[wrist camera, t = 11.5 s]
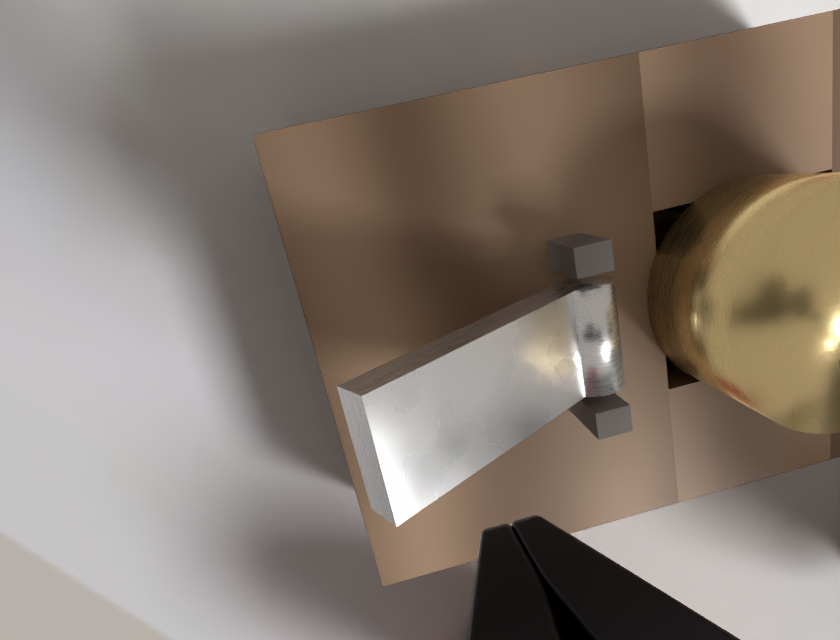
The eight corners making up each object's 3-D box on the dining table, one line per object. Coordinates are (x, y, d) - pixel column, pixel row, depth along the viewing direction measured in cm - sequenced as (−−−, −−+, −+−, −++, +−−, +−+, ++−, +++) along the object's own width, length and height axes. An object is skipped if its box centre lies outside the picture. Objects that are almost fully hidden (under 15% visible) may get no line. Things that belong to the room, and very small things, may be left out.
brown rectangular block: (764, 43, 19) (984, -32, 12) (773, 388, 23) (945, 470, 16) (278, 148, 18) (237, 126, 11) (375, 496, 21) (386, 633, 15)
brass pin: (565, 197, 19) (724, 205, 11) (723, 161, 20) (987, 143, 12) (586, 355, 21) (737, 462, 13) (730, 318, 22) (964, 398, 13)
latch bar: (575, 274, 15) (625, 276, 14) (588, 368, 16) (637, 378, 15) (336, 385, 11) (378, 403, 9) (371, 508, 11) (413, 539, 10)
